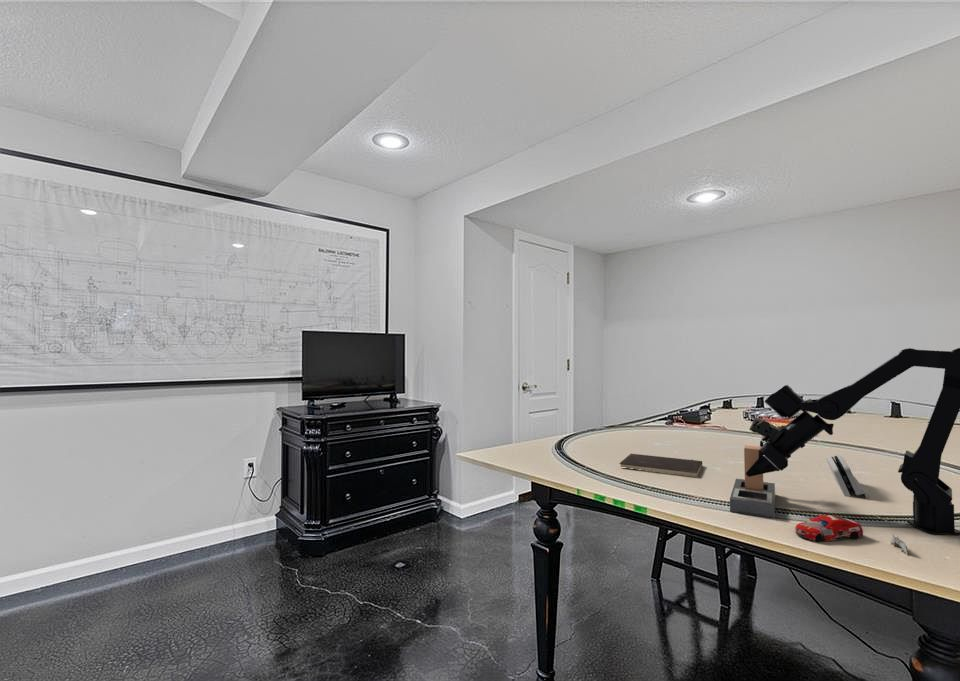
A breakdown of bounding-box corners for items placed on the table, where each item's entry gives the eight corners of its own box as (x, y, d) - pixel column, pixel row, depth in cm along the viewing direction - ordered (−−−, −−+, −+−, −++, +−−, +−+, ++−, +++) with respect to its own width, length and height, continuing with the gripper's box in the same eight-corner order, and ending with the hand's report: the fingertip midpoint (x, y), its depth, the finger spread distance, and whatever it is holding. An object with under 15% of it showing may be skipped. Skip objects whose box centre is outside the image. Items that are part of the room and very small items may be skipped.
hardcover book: (696, 479, 139) (696, 472, 140) (619, 470, 151) (619, 462, 151) (702, 467, 153) (702, 460, 153) (631, 459, 165) (631, 453, 165)
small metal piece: (920, 559, 86) (920, 543, 86) (904, 557, 87) (904, 542, 87) (904, 545, 92) (903, 530, 92) (889, 544, 92) (889, 529, 92)
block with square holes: (774, 518, 106) (774, 504, 106) (730, 511, 111) (729, 497, 111) (775, 494, 123) (774, 482, 123) (736, 489, 128) (736, 477, 128)
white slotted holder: (869, 499, 118) (852, 460, 120) (847, 502, 121) (830, 465, 123) (857, 482, 133) (841, 448, 135) (838, 486, 135) (822, 452, 137)
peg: (763, 501, 118) (762, 449, 118) (745, 498, 120) (744, 448, 120) (763, 496, 121) (762, 446, 122) (746, 494, 123) (745, 445, 124)
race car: (809, 544, 93) (809, 524, 93) (788, 534, 98) (788, 515, 98) (869, 540, 94) (868, 520, 94) (845, 530, 99) (845, 511, 99)
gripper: (771, 404, 127) (726, 440, 133) (770, 412, 111) (719, 453, 117) (806, 436, 122) (758, 472, 128) (811, 449, 107) (756, 490, 113)
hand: (747, 470), depth 122 cm, fingers open, 9 cm apart
